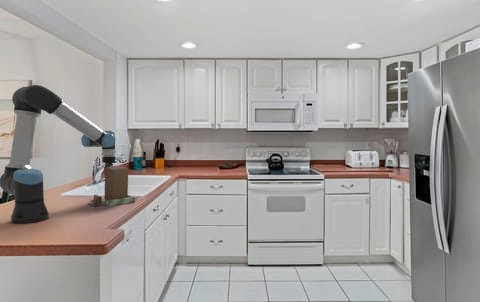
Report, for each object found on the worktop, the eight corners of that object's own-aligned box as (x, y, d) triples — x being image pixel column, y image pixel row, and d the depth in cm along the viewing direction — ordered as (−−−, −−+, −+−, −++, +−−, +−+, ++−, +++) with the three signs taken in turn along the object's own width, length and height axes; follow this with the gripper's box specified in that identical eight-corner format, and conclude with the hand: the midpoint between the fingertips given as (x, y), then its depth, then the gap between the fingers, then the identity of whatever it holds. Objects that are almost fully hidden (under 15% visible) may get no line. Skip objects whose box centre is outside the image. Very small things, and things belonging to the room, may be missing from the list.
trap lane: (95, 207, 184) (95, 202, 184) (83, 201, 204) (82, 196, 204) (143, 201, 201) (143, 196, 201) (127, 195, 221) (127, 190, 220)
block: (119, 197, 207) (120, 165, 205) (128, 201, 201) (129, 168, 198) (103, 200, 200) (104, 166, 198) (112, 204, 193) (112, 169, 191)
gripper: (118, 156, 204) (119, 195, 205) (111, 155, 214) (112, 192, 215) (105, 156, 199) (106, 197, 200) (99, 155, 209) (100, 194, 210)
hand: (109, 194), depth 207 cm, fingers closed
